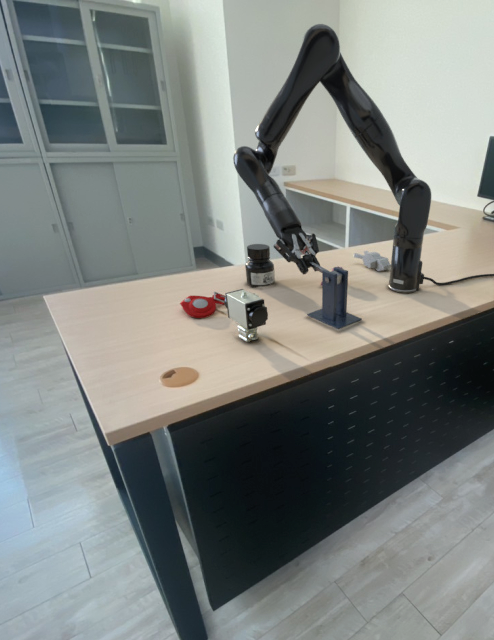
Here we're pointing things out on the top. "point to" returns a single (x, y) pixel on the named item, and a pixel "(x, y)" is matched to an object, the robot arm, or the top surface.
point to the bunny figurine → (374, 260)
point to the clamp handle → (319, 267)
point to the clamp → (334, 301)
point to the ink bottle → (259, 266)
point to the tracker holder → (202, 305)
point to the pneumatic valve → (246, 312)
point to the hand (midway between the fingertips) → (312, 271)
